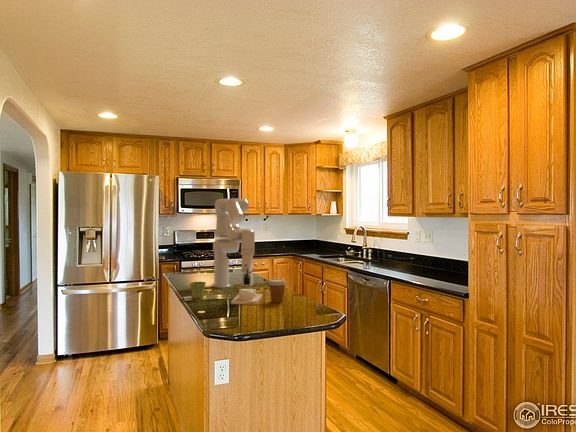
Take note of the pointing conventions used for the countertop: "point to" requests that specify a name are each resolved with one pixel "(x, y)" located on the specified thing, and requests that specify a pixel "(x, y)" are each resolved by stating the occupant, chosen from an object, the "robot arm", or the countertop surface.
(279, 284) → the disposable coffee cup
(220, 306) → the countertop surface
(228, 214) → the robot arm
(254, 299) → the stack base
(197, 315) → the countertop surface
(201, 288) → the plant pot
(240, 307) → the countertop surface
